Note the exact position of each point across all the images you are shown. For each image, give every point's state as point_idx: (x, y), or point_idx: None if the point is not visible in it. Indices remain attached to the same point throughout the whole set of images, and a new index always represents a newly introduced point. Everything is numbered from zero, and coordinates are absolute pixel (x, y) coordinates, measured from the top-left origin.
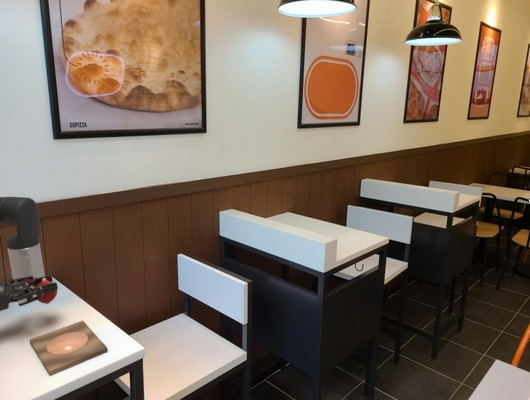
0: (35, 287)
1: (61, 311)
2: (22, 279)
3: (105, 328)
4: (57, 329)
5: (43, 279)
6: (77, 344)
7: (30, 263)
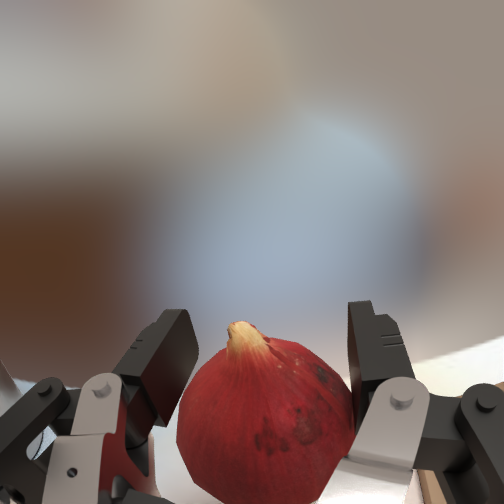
0: (379, 439)
1: None
2: (8, 447)
3: (465, 366)
4: (431, 495)
5: (250, 337)
6: None
7: None
